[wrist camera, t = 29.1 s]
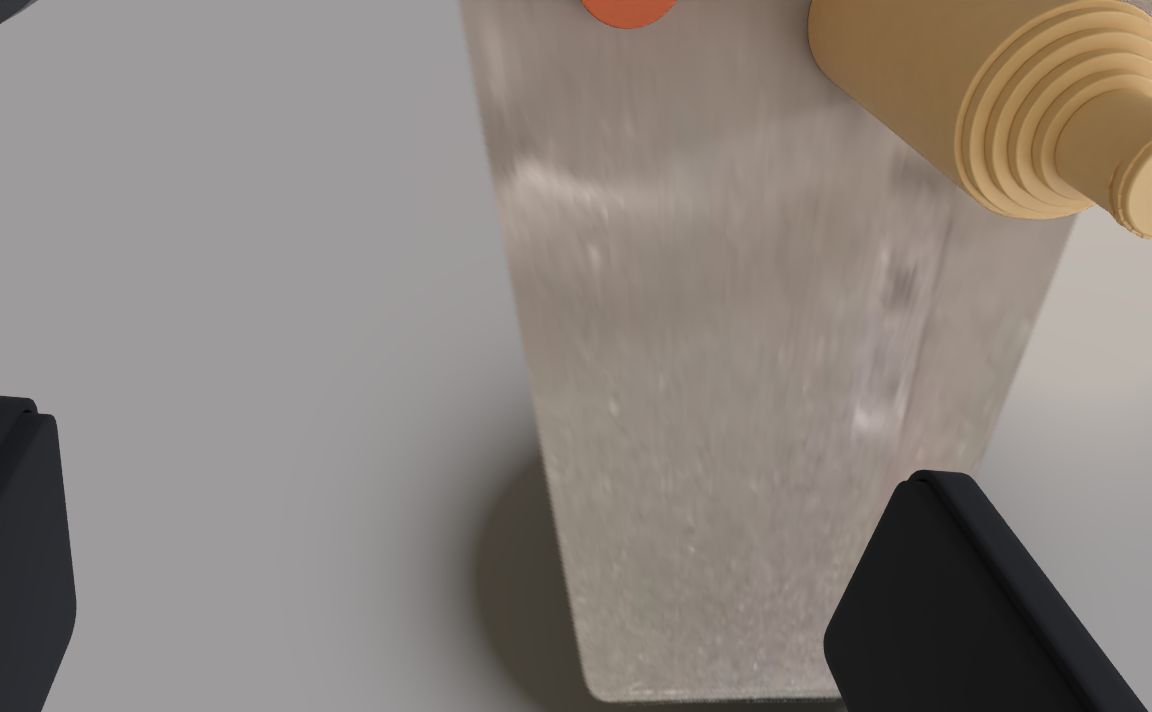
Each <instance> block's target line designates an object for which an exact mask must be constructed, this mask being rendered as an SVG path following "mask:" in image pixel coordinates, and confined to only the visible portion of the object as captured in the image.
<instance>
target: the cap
mask: <svg viewBox="0 0 1152 712" xmlns="http://www.w3.org/2000/svg"><path fill="white" fill-rule="evenodd" d="M581 1H582V3H583V5H584V6H585V7H586V9H587V10H588V11H589V12H590V13H591V14H592V15H593V16H594V17H595V18H597V19H598V20H599V21H601V22H603V23H605V24H607V25H609V26H612V27H616V28H623V29H632V28H638V27H642V26H645V25H648V24H650V23H652V22H654V21H656V20H657V19H659V18H660V17H662V16H663V15H664V14H665V13H666V12H667V11H668V10H669V9H670V8H671V7H672V6H673V4H674V3H675V2H676V0H581Z"/></svg>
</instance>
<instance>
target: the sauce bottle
mask: <svg viewBox="0 0 1152 712" xmlns="http://www.w3.org/2000/svg"><path fill="white" fill-rule="evenodd" d="M808 37H809V43H810V47H811V51H812V54H813V56H814V59H815V61H816V63H817V64H818V66H819V68H820V69H821V70H822V71H823V73H824V74H825V75H826V76H827V77H828V78H829V79H830V80H831V81H833V82H834V83H835V84H836V85H837V86H839V87H840V88H841V89H842V90H843V91H845V92H846V93H847V94H848V95H849V96H851V97H852V98H853V99H854V100H855V101H857V102H858V103H859V104H860V105H862V106H863V107H864V108H865V109H866V110H868V111H869V112H870V113H871V114H872V115H874V116H875V117H876V118H877V119H878V120H880V121H881V122H882V123H883V124H884V125H886V126H887V127H888V128H889V129H890V130H892V131H893V132H894V133H895V134H896V135H898V136H899V137H900V138H901V139H902V140H904V141H905V142H906V143H907V144H908V145H910V146H911V147H912V148H913V149H914V150H916V151H917V152H918V153H919V154H921V155H922V156H923V157H924V158H925V159H927V160H928V161H929V162H930V163H931V164H933V165H934V166H935V167H936V168H937V169H939V170H940V171H941V172H942V173H943V174H945V175H946V176H947V177H948V178H949V179H951V180H952V181H953V182H954V183H955V184H957V185H958V186H959V187H960V188H961V189H963V190H964V191H965V192H966V193H967V194H969V195H970V196H971V197H972V198H973V199H975V200H976V201H977V202H978V203H980V204H981V205H982V206H984V207H986V208H987V209H989V210H990V211H993V212H995V213H998V214H1000V215H1003V216H1008V217H1012V218H1020V219H1035V220H1041V219H1054V218H1060V217H1065V216H1068V215H1072V214H1075V213H1078V212H1080V211H1083V210H1085V209H1088V208H1089V207H1092V206H1094V205H1096V204H1098V205H1099V206H1101V207H1102V208H1104V209H1105V210H1107V211H1108V212H1110V214H1111V215H1112V216H1113V217H1114V219H1115V220H1116V221H1117V222H1118V223H1119V224H1120V225H1121V226H1124V227H1125V228H1127V230H1129V231H1130V232H1132V233H1134V234H1136V235H1137V236H1140V237H1141V238H1146V239H1152V17H1150V16H1149V15H1148V14H1147V13H1145V12H1144V11H1143V10H1141V9H1139V8H1137V7H1135V6H1133V5H1132V4H1129V3H1126V2H1123V1H1120V0H812V3H811V7H810V11H809V18H808Z"/></svg>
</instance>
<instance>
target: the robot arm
mask: <svg viewBox="0 0 1152 712" xmlns="http://www.w3.org/2000/svg"><path fill="white" fill-rule="evenodd" d="M75 618H76V595H75V585H74V576H73V567H72V557H71V548H70V540H69V530H68V521H67V512H66V503H65V494H64V485H63V476H62V467H61V458H60V449H59V439H58V430H57V424H56V420H55V418H54V416H52V415H50V414H38V412H37V407H36V405H35V403H34V401H33V400H31V399H30V398H20V397H7V396H0V712H41V710H42V708H43V705H44V703H45V701H46V698H47V696H48V693H49V691H50V688H51V686H52V683H53V681H54V678H55V676H56V673H57V671H58V669H59V666H60V664H61V661H62V659H63V656H64V654H65V651H66V649H67V646H68V644H69V641H70V639H71V636H72V632H73V628H74V624H75ZM824 654H825V658H826V661H827V664H828V666H829V668H830V671H831V673H832V675H833V678H834V680H835V682H836V684H837V687H838V689H839V691H840V694H841V696H842V698H843V700H844V703H845V705H846V707H847V710H848V712H1148V711H1147V709H1146V708H1145V707H1144V705H1143V704H1142V703H1141V701H1140V700H1139V699H1138V697H1137V696H1136V695H1135V694H1134V692H1133V691H1132V690H1131V688H1130V687H1129V685H1128V684H1127V683H1126V682H1125V680H1124V679H1123V677H1122V676H1121V675H1120V673H1119V672H1118V671H1117V670H1116V668H1115V667H1114V665H1113V664H1112V663H1111V662H1110V660H1109V659H1108V657H1107V656H1106V655H1105V654H1104V652H1103V651H1102V649H1101V648H1100V647H1099V646H1098V644H1097V643H1096V642H1095V640H1094V639H1093V638H1092V636H1091V635H1090V634H1089V632H1088V631H1087V630H1086V628H1085V627H1084V626H1083V624H1082V623H1081V622H1080V620H1079V619H1078V618H1077V616H1076V615H1075V614H1074V612H1073V611H1072V610H1071V608H1070V607H1069V606H1068V604H1067V603H1066V602H1065V600H1064V599H1063V598H1062V596H1061V595H1060V594H1059V592H1058V591H1057V590H1056V589H1055V587H1054V586H1053V584H1052V583H1051V582H1050V580H1049V579H1048V578H1047V576H1046V575H1045V574H1044V572H1043V571H1042V570H1041V568H1040V567H1039V566H1038V564H1037V563H1036V562H1035V561H1034V559H1033V558H1032V557H1031V555H1030V554H1029V553H1028V551H1027V550H1026V548H1025V547H1024V546H1023V544H1022V543H1021V542H1020V540H1019V539H1018V538H1017V537H1016V535H1015V534H1014V533H1013V531H1012V530H1011V529H1010V527H1009V526H1008V525H1007V523H1006V522H1005V521H1004V519H1003V518H1002V517H1001V515H1000V514H999V513H998V511H997V510H996V509H995V507H994V506H993V505H992V503H991V502H990V501H989V500H988V498H987V497H986V495H985V494H984V493H983V491H982V490H981V489H980V487H979V486H978V485H977V483H976V482H975V481H974V480H973V479H972V478H971V477H970V476H969V475H967V474H964V473H958V472H946V471H933V470H919V471H916V472H915V473H913V474H912V475H911V476H910V478H909V479H908V480H907V481H902V482H901V483H899V484H898V486H897V487H896V489H895V490H894V492H893V494H892V496H891V498H890V500H889V502H888V505H887V507H886V509H885V511H884V513H883V515H882V517H881V519H880V521H879V523H878V525H877V527H876V529H875V531H874V533H873V535H872V537H871V539H870V541H869V543H868V545H867V547H866V549H865V551H864V553H863V555H862V557H861V560H860V562H859V564H858V566H857V568H856V570H855V572H854V574H853V576H852V578H851V580H850V582H849V584H848V586H847V588H846V590H845V592H844V594H843V596H842V598H841V600H840V602H839V604H838V606H837V608H836V610H835V612H834V615H833V617H832V619H831V621H830V623H829V625H828V627H827V629H826V632H825V635H824Z"/></svg>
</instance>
